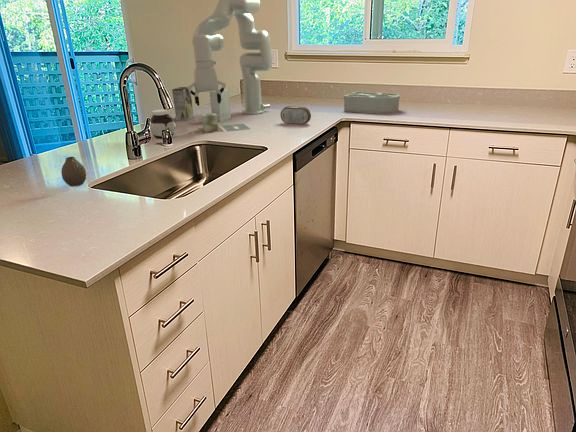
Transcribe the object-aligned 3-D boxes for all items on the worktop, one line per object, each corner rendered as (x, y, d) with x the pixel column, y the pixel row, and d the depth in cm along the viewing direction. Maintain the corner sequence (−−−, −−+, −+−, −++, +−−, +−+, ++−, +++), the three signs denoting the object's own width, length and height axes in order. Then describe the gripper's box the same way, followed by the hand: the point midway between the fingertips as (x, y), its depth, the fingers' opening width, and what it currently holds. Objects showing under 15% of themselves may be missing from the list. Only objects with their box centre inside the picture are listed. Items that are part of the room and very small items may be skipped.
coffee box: (183, 117, 238) (179, 86, 232) (194, 117, 237) (190, 86, 231) (175, 120, 230) (171, 89, 224) (187, 120, 229) (183, 89, 222)
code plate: (243, 124, 216) (243, 123, 216) (250, 130, 204) (250, 129, 203) (221, 126, 212) (221, 125, 212) (227, 132, 200) (227, 131, 200)
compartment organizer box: (355, 106, 253) (355, 91, 250) (402, 110, 240) (403, 94, 236) (343, 111, 240) (343, 95, 237) (392, 115, 227) (393, 98, 223)
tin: (311, 124, 212) (311, 106, 209) (309, 125, 210) (309, 107, 206) (282, 122, 217) (281, 105, 214) (280, 124, 214) (279, 106, 211)
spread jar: (154, 140, 191) (150, 113, 186) (149, 135, 200) (144, 109, 196) (181, 136, 196) (177, 110, 191) (175, 131, 205) (171, 106, 201)
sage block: (215, 128, 208) (214, 113, 205) (218, 130, 203) (216, 115, 200) (203, 129, 206) (201, 114, 203) (205, 131, 201) (203, 116, 198)
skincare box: (222, 118, 231) (220, 88, 225) (232, 119, 228) (229, 88, 222) (211, 121, 225) (208, 90, 219) (221, 122, 222) (218, 91, 215)
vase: (69, 181, 142) (62, 155, 138) (91, 180, 142) (85, 154, 139) (61, 188, 135) (54, 161, 132) (83, 187, 136) (77, 160, 132)
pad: (218, 127, 211) (218, 126, 211) (224, 132, 201) (224, 131, 201) (198, 129, 208) (197, 128, 208) (202, 134, 198) (202, 133, 198)
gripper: (221, 62, 199) (225, 101, 206) (183, 65, 193) (188, 104, 201) (225, 64, 192) (229, 103, 199) (185, 67, 187) (191, 107, 194)
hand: (208, 104), depth 200 cm, fingers open, 9 cm apart
